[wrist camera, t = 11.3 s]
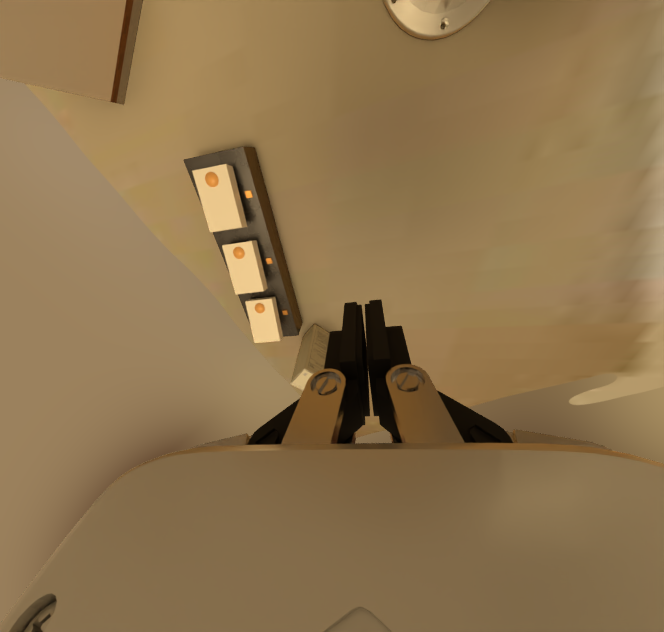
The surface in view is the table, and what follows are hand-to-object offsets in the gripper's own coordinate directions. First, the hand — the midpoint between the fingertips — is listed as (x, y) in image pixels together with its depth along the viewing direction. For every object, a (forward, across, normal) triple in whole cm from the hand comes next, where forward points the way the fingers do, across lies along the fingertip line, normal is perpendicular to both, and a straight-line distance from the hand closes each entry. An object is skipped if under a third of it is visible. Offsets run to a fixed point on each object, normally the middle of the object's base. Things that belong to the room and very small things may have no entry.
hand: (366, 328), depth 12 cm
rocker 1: (+23, +17, -5) cm, 29 cm away
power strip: (+29, +17, +4) cm, 34 cm away
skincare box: (+29, +10, +22) cm, 38 cm away
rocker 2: (+23, +17, +13) cm, 31 cm away
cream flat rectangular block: (+23, +17, +4) cm, 29 cm away
